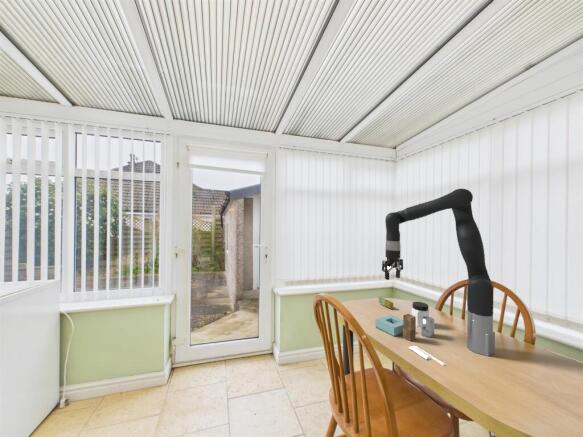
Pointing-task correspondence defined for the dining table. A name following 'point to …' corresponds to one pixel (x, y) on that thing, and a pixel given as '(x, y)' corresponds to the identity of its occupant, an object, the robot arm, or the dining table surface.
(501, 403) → the dining table surface
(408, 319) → the square peg
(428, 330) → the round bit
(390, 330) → the socket block
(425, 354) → the white long flat piece
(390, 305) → the medication box
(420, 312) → the jar
